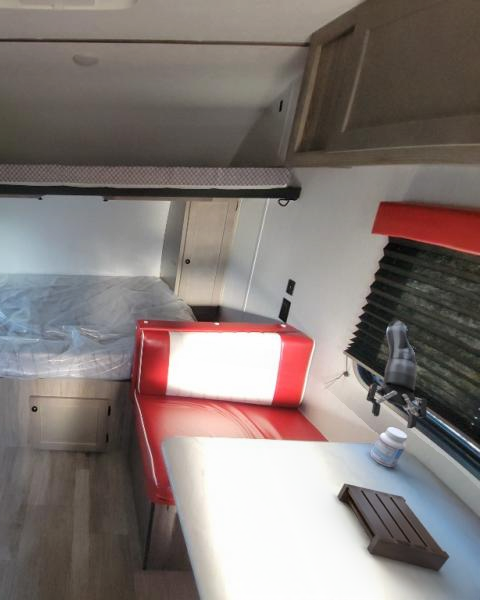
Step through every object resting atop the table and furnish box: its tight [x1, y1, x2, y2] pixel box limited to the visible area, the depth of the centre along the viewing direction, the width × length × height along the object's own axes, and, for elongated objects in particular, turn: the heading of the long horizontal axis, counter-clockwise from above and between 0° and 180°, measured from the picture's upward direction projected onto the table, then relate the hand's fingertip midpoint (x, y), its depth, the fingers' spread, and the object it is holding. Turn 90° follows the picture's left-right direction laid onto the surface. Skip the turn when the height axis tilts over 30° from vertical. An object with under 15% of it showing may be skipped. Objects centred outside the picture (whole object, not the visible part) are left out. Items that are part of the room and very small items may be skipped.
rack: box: [337, 483, 450, 572], centre depth 82 cm, size 14×15×5 cm
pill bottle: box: [370, 426, 408, 468], centre depth 103 cm, size 6×6×11 cm
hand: (392, 421), depth 106 cm, fingers open, 8 cm apart
